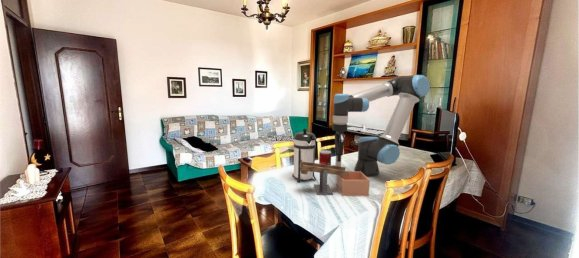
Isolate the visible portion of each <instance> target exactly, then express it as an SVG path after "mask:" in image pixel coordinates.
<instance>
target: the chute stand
mask: <svg viewBox="0 0 579 258" xmlns="http://www.w3.org/2000/svg"><path fill="white" fill-rule="evenodd" d="M328 175H329V174H328V170H323V173H319V184H313V188H314V192H315V194H316V195H317V196H333V195H334V192H333V190H332V188H331V187H330V185H329V184H328Z"/></svg>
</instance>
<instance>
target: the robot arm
mask: <svg viewBox="0 0 579 258" xmlns="http://www.w3.org/2000/svg"><path fill="white" fill-rule="evenodd" d="M430 89H431V84H430V81H429V78H428V77H426V76H425V75H422V74H415V75H402V76H401V75H400V76H398V77H395V78H392V79H390V80H387V81H384V82H383V83H382V84H380V85H376V86H373V87H370V88H367V89H364V90H361V91H358V92H355V93H352V94H348V93H335V94H334V95H333V96H334V97H333V113H332V114H333V116H332V117H331V118H332V131H333V132H335V133H334V135H333V136H334V152H335V163H334V164H335V166H340V167H342V156H344V148H345V142H346V139H345V134H344V132H347V131H348V123H349V113H362V112H363V113H365V112H367V111H368V110H369V108H370V103H371V102H373V101H376V100H378V99H382V98H385V97H388V98H390V97H394V96H398V97H399V99H398V101H397V103H396V106H395V108H394V109H393V112H392V114H391V116H390V118H389V120H388V123H387V125H386V127H385V129H384V132H383V134H382V135H379V136H361V137H359V139H358V150H357V161H356V163H355V166H354V168H353V169H354V171H361V172H362V173H363V174H364V175H365V176H366V177H376V176H378V175H380V167H379V164H378V162H379V163H381V164H384V165H391V164H394V163H395V162H397V161H398V159H399V157H400V155H401V152H400V151H401V150H400V148H399V146H400V143H399V139H400V137H401V135H402V132H403V130H404V128H405V126H406V123H407V121H408V120H409V117H410V115H411V113H412V110H413V108H414V107H415V104H417V103H419V102H420V100H421V98H422V97H425V96H426V95H428V94H429V92H430Z"/></svg>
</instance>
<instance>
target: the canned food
mask: <svg viewBox="0 0 579 258" xmlns="http://www.w3.org/2000/svg"><path fill="white" fill-rule="evenodd" d="M318 156H319V159H318V162H319V163H318V164H325V165H332V151H331V150H325V149H324V150H319V155H318Z"/></svg>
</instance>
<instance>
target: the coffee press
mask: <svg viewBox="0 0 579 258" xmlns="http://www.w3.org/2000/svg"><path fill="white" fill-rule="evenodd" d="M316 139H317V137H316V134H314V133H313V132H309V131H308V129H307V128H306V127H305V128H302V131H299V132H297V133H295V134H294V136H293V141H294V142H293V173H292V175H291V176H292V177H293V178H296V181H297V183H301V181H302V180H310V179H311V180H312V182H316V180H317V178H316V177H315V172H311V171H308V173H307V174H301V171H300V169H301V168H300V162H301V159H302V161H303V162H310V163H316V162H315V160H316V158H315V157H316Z"/></svg>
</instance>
